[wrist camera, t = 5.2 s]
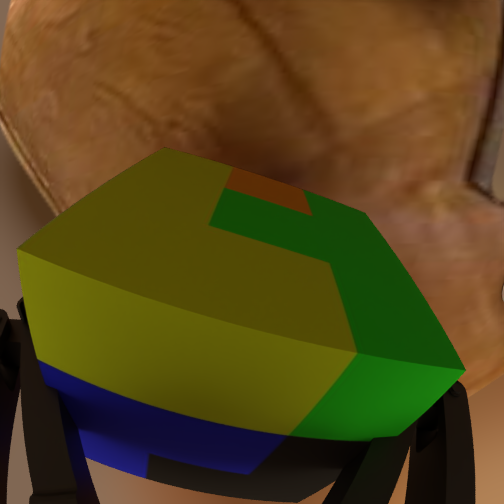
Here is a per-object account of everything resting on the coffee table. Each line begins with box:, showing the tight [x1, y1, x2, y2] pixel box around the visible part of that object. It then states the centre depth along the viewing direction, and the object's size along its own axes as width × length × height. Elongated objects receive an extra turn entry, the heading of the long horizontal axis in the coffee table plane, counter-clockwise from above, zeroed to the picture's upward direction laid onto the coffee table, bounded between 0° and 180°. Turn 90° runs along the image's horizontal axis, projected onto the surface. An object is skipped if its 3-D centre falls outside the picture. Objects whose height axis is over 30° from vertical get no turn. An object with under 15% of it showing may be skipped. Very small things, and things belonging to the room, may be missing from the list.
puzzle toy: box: [17, 147, 466, 503], centre depth 12 cm, size 10×10×10 cm
